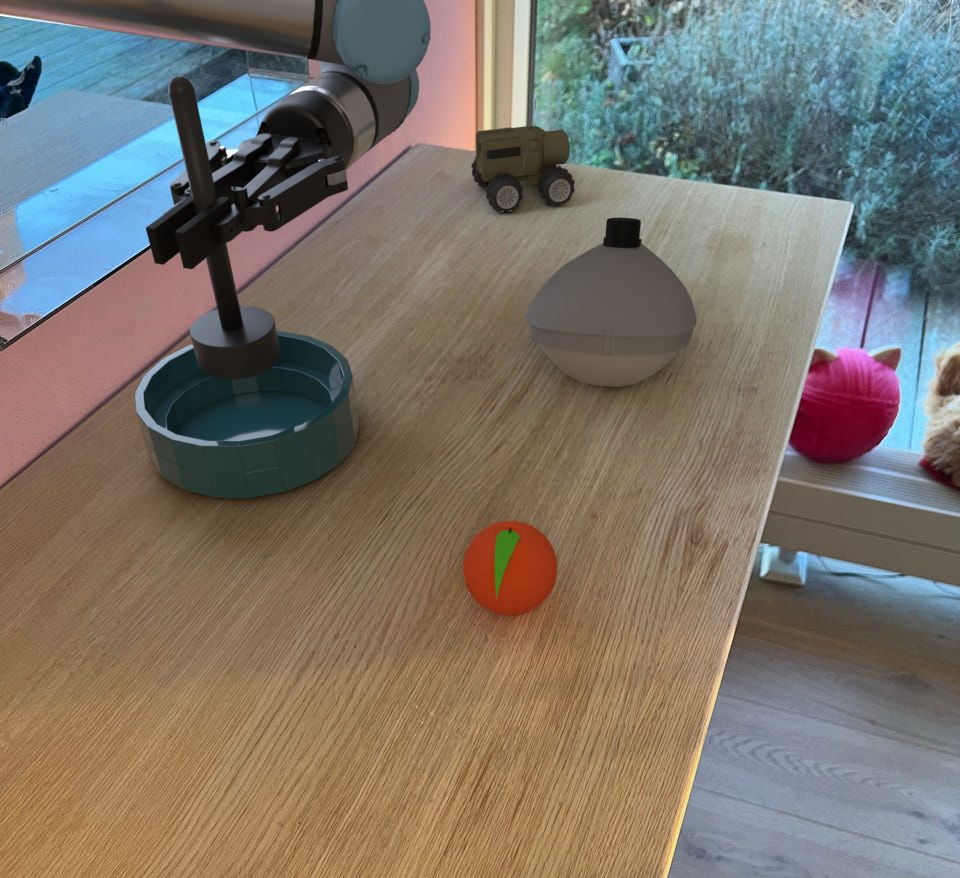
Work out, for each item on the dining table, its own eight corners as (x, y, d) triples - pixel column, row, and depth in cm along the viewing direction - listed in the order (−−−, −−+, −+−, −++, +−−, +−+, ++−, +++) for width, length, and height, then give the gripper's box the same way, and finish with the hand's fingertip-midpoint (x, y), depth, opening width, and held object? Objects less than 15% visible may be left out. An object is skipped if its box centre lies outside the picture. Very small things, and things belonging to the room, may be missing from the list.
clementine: (545, 651, 74) (546, 577, 69) (451, 638, 76) (446, 564, 71) (563, 578, 80) (566, 505, 75) (475, 567, 81) (473, 494, 76)
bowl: (110, 480, 91) (90, 422, 86) (221, 374, 103) (208, 318, 98) (299, 524, 86) (288, 464, 81) (392, 406, 98) (386, 349, 93)
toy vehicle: (470, 185, 134) (466, 84, 125) (552, 175, 136) (554, 75, 127) (490, 218, 127) (488, 113, 118) (577, 206, 128) (581, 103, 120)
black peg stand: (181, 371, 87) (107, 89, 71) (224, 332, 91) (163, 58, 76) (255, 385, 85) (194, 98, 69) (295, 344, 89) (247, 65, 74)
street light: (689, 415, 90) (709, 244, 83) (511, 403, 92) (517, 236, 85) (686, 342, 116) (701, 208, 109) (547, 334, 118) (554, 202, 111)
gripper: (396, 188, 92) (267, 311, 77) (250, 169, 96) (99, 283, 81) (389, 97, 87) (247, 209, 71) (234, 81, 91) (69, 185, 75)
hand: (169, 248), depth 76 cm, fingers closed on black peg stand, 2 cm apart
